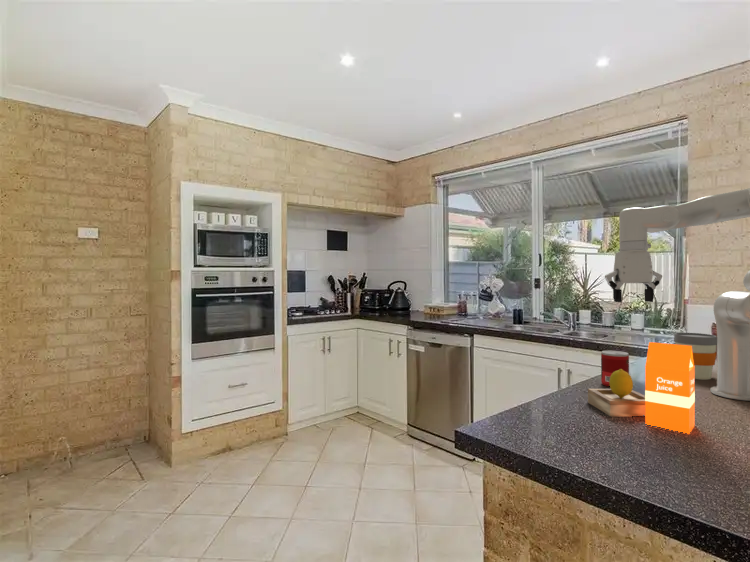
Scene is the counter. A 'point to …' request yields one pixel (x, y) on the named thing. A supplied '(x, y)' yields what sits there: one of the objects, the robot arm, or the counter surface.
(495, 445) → the counter surface
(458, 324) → the counter surface
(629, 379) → the lemon
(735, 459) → the counter surface
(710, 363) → the reusable coffee cup
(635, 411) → the square wooden box
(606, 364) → the canned food
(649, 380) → the orange juice
